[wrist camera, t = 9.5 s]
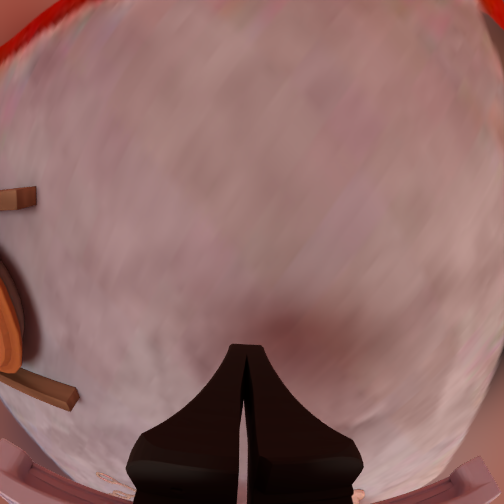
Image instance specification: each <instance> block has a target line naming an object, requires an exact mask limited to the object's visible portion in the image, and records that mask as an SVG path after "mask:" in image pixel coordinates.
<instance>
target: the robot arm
mask: <svg viewBox="0 0 504 504" xmlns="http://www.w3.org/2000/svg"><path fill="white" fill-rule="evenodd" d="M243 401H244V407H245V418H246V428H247V438H248V477H247V504H353V500H352V495H353V494H354V491H353V487H352V484H353V482H354V481H355V480H356V479H357V477H358V476H359V474H360V473H361V472H362V470H363V467H364V466H363V461H362V458H361V455H360V453H359V451H358V449H357V447H356V445H355V443H354V441H353V440H352V439H350V438H348V437H346V436H344V435H342V434H340V433H339V432H337V431H335V430H333V429H332V428H330V427H329V426H327V425H326V424H324V423H323V422H321V421H320V420H319V419H317V418H316V417H315V416H314V415H312V414H311V413H310V412H309V411H308V410H307V409H306V408H304V407H303V406H302V405H301V404H300V403H299V402H298V401H297V399H296V398H295V397H294V396H293V395H292V394H291V393H290V392H289V390H288V389H287V388H286V386H285V385H284V384H283V382H282V381H281V380H280V378H279V377H278V375H277V373H276V372H275V370H274V369H273V367H272V365H271V363H270V362H269V360H268V358H267V356H266V353H265V351H264V348H263V347H262V346H261V345H245V344H231V345H230V346H229V350H228V352H227V354H226V356H225V358H224V360H223V362H222V363H221V365H220V367H219V368H218V370H217V371H216V373H215V374H214V376H213V377H212V378H211V380H210V381H209V382H208V383H207V385H206V386H205V387H204V388H203V389H202V390H201V392H200V393H199V394H198V395H197V396H196V397H195V398H194V399H193V400H192V401H190V402H189V403H188V404H187V405H186V406H185V407H184V408H182V409H181V410H180V411H179V412H177V413H176V414H174V415H173V416H172V417H170V418H169V419H167V420H166V421H164V422H163V423H161V424H159V425H157V426H155V427H154V428H152V429H150V430H148V431H146V432H144V433H142V434H141V435H140V437H139V438H138V440H137V441H136V443H135V445H134V447H133V449H132V451H131V453H130V456H129V459H128V462H127V466H126V471H127V474H128V476H129V477H130V479H131V481H132V482H133V484H134V485H135V487H136V489H137V490H136V494H135V497H134V501H129V500H125V499H122V498H119V497H115V496H112V495H109V494H106V493H103V492H100V491H97V490H94V489H92V488H89V487H86V486H84V485H81V484H79V483H76V482H74V481H71V480H69V479H67V478H65V477H62V476H60V475H58V474H56V473H54V472H52V471H50V470H47V469H46V468H44V467H42V466H40V465H38V464H36V463H34V462H33V461H32V459H31V458H30V456H29V455H28V454H27V453H26V452H25V451H24V450H22V449H21V448H19V447H17V446H16V445H14V444H13V443H11V442H9V441H8V440H6V439H5V438H2V440H1V441H0V496H1V497H2V498H3V499H5V500H6V501H7V502H8V503H9V504H237V490H238V476H239V429H240V422H241V415H242V408H243ZM500 493H501V491H500V489H499V487H498V485H497V484H496V482H495V480H494V478H493V477H492V475H491V473H490V472H489V470H488V468H487V466H486V465H485V463H484V461H483V460H482V458H481V457H480V456H478V457H476V458H474V459H472V460H470V461H468V462H466V463H464V464H462V465H460V466H459V467H458V468H457V469H455V470H454V471H453V472H452V473H451V475H450V476H449V477H447V478H445V479H443V480H440V481H438V482H436V483H433V484H431V485H428V486H425V487H423V488H420V489H417V490H415V491H412V492H409V493H406V494H403V495H400V496H397V497H393V498H390V499H387V500H383V501H379V502H376V503H372V504H489V503H490V502H492V501H493V500H494V499H495V498H496V497H498V496H499V495H500Z"/></svg>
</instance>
